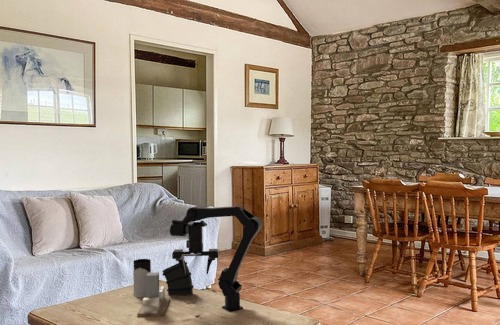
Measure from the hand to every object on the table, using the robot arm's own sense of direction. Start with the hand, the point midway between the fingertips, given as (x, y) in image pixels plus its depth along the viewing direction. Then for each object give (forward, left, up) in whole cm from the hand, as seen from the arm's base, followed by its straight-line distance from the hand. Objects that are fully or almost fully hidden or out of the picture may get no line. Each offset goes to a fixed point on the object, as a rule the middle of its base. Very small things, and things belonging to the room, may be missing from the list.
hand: (195, 274), depth 200 cm
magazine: (+19, -1, -13) cm, 23 cm away
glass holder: (+31, +10, -13) cm, 35 cm away
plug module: (+5, +17, -11) cm, 21 cm away
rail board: (+8, +15, -13) cm, 21 cm away
